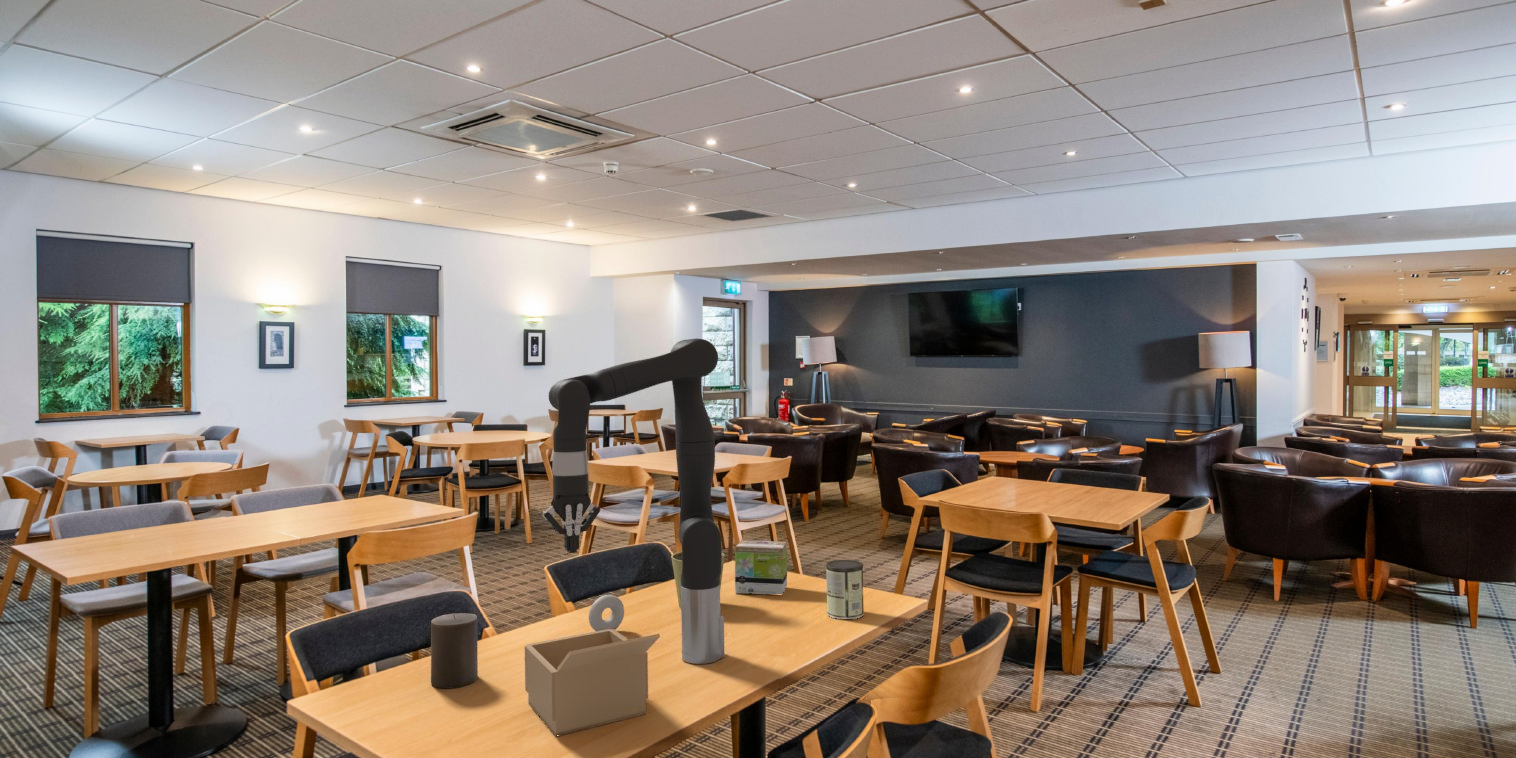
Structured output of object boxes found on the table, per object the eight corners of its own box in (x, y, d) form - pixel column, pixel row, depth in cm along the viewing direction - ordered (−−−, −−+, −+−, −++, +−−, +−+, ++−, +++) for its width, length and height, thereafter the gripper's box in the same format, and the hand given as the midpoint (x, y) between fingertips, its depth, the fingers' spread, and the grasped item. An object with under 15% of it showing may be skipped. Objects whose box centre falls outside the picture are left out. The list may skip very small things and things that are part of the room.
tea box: (734, 594, 244) (734, 546, 244) (740, 586, 254) (740, 539, 254) (783, 596, 242) (782, 547, 242) (787, 587, 252) (787, 540, 252)
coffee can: (836, 607, 229) (836, 557, 229) (870, 612, 224) (869, 561, 224) (819, 616, 221) (819, 565, 221) (853, 622, 215) (853, 569, 215)
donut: (592, 639, 204) (592, 599, 204) (586, 635, 207) (585, 597, 207) (627, 630, 211) (626, 592, 211) (620, 627, 213) (620, 590, 213)
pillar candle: (450, 692, 171) (450, 621, 171) (421, 683, 176) (421, 614, 176) (487, 677, 179) (487, 610, 179) (458, 669, 184) (458, 604, 184)
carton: (613, 683, 174) (612, 628, 174) (648, 713, 159) (647, 652, 159) (524, 703, 164) (523, 644, 164) (552, 737, 148) (551, 672, 148)
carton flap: (659, 633, 152) (659, 636, 151) (643, 650, 158) (644, 653, 157) (569, 651, 142) (570, 654, 142) (556, 668, 149) (557, 671, 148)
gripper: (545, 476, 167) (546, 559, 167) (606, 471, 173) (607, 551, 174) (535, 472, 173) (536, 553, 173) (593, 468, 180) (595, 545, 180)
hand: (572, 552), depth 173 cm, fingers closed
